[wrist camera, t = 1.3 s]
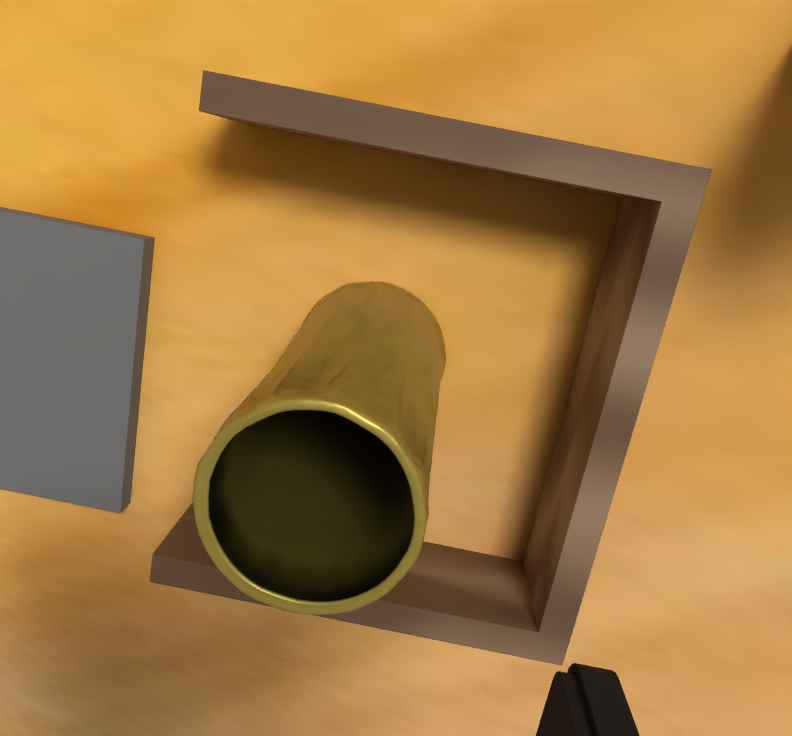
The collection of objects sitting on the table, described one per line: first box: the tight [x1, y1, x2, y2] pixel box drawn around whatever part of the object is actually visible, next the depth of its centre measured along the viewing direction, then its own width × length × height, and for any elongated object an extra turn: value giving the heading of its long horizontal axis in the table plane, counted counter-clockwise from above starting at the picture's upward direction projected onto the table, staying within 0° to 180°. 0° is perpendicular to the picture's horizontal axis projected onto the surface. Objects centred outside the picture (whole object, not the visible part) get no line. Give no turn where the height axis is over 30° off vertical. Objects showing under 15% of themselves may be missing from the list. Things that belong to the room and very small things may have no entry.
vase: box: [192, 282, 446, 615], centre depth 22 cm, size 6×6×14 cm
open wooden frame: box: [150, 70, 711, 665], centre depth 26 cm, size 18×16×5 cm
